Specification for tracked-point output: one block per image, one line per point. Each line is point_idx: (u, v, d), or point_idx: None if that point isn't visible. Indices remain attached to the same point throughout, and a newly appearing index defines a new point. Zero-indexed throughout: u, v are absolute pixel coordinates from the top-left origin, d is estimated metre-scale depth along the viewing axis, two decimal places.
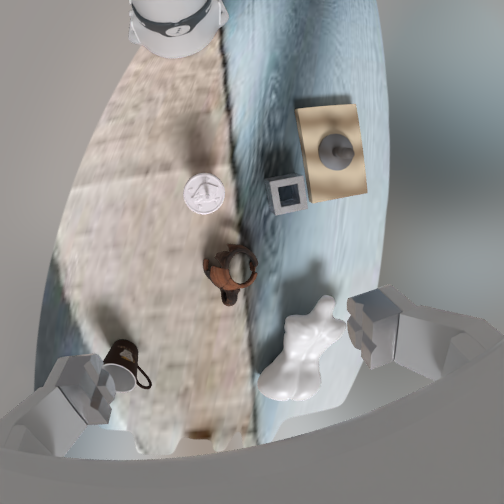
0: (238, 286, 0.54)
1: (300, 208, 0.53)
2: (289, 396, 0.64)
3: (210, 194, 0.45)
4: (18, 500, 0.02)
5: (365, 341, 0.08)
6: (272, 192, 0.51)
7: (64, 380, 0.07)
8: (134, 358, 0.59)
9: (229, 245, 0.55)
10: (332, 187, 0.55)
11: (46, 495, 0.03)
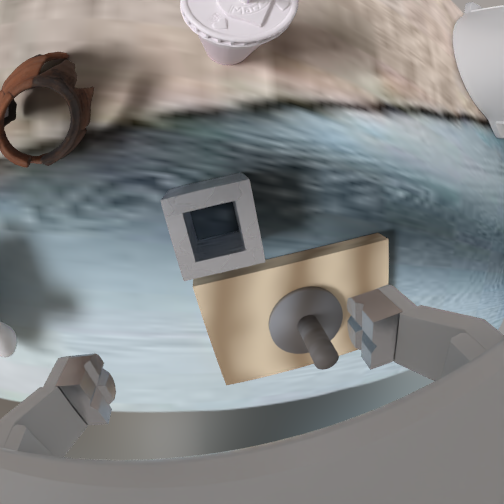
0: None
1: (182, 263, 0.21)
2: None
3: (239, 6, 0.11)
4: (18, 500, 0.02)
5: (365, 341, 0.08)
6: (221, 188, 0.19)
7: (64, 380, 0.07)
8: None
9: (89, 90, 0.17)
10: (231, 323, 0.26)
11: (46, 495, 0.03)
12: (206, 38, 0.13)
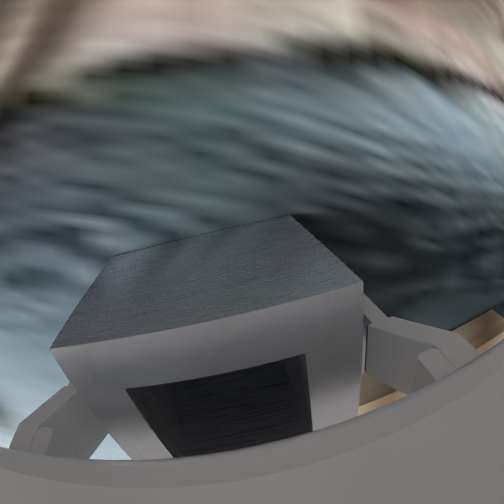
0: None
1: None
2: None
3: None
4: (18, 500, 0.02)
5: None
6: (258, 318, 0.05)
7: None
8: None
9: None
10: None
11: (46, 495, 0.03)
12: None
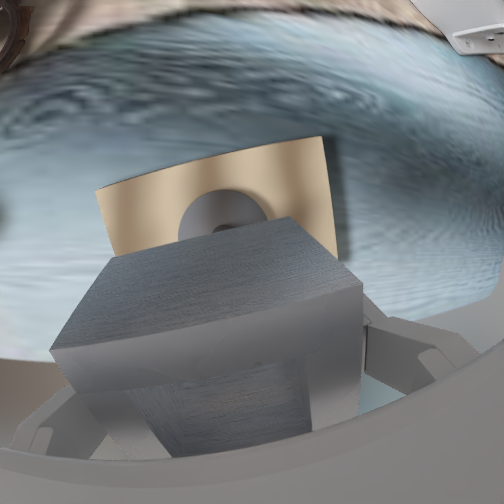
0: None
1: None
2: None
3: None
4: (18, 500, 0.02)
5: None
6: (258, 319, 0.05)
7: None
8: None
9: (30, 8, 0.13)
10: (136, 236, 0.22)
11: (46, 495, 0.03)
12: None
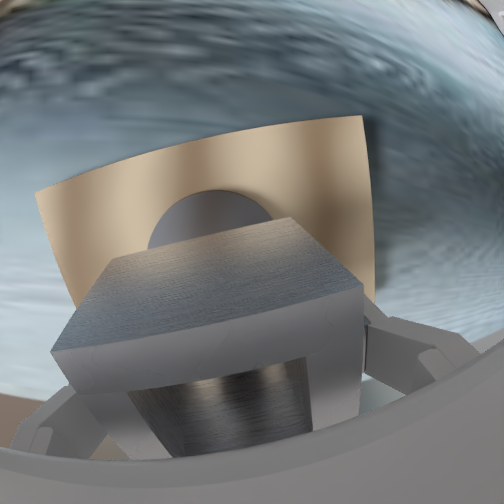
0: None
1: None
2: None
3: None
4: (18, 500, 0.02)
5: None
6: (259, 321, 0.05)
7: None
8: None
9: None
10: (90, 258, 0.15)
11: (46, 495, 0.03)
12: None
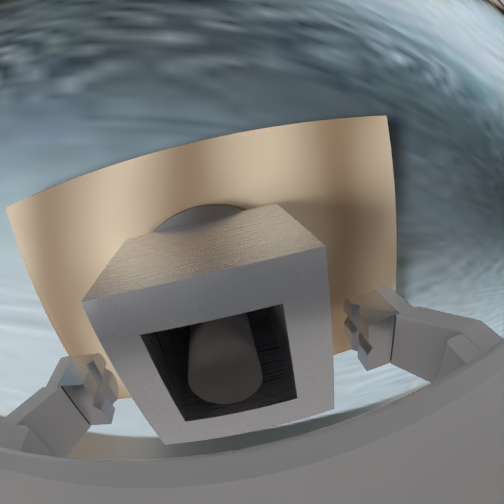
0: None
1: (157, 422, 0.08)
2: None
3: None
4: (18, 500, 0.02)
5: (361, 342, 0.08)
6: (245, 271, 0.07)
7: (67, 380, 0.07)
8: None
9: None
10: (70, 283, 0.12)
11: (46, 495, 0.03)
12: None
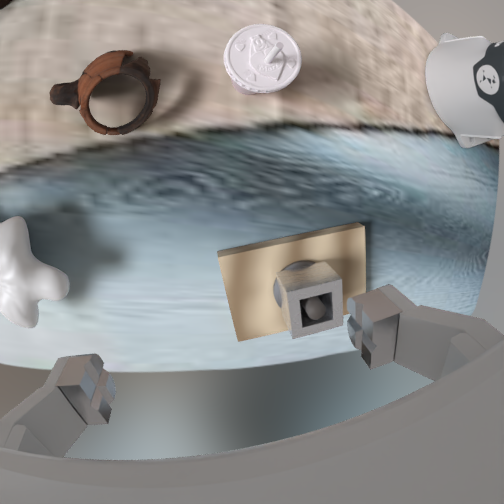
0: (84, 96, 0.21)
1: (294, 328, 0.32)
2: None
3: (263, 65, 0.20)
4: (18, 500, 0.02)
5: (365, 341, 0.08)
6: (325, 284, 0.30)
7: (64, 380, 0.07)
8: None
9: (158, 81, 0.25)
10: (244, 287, 0.35)
11: (46, 495, 0.03)
12: (241, 86, 0.22)
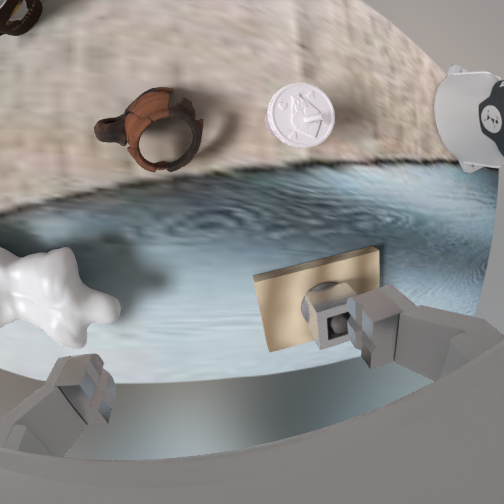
0: (135, 138, 0.26)
1: (321, 341, 0.36)
2: None
3: (303, 124, 0.25)
4: (18, 500, 0.02)
5: (365, 341, 0.08)
6: None
7: (64, 380, 0.07)
8: (12, 25, 0.19)
9: (201, 121, 0.30)
10: (277, 306, 0.40)
11: (46, 495, 0.03)
12: (284, 142, 0.26)
